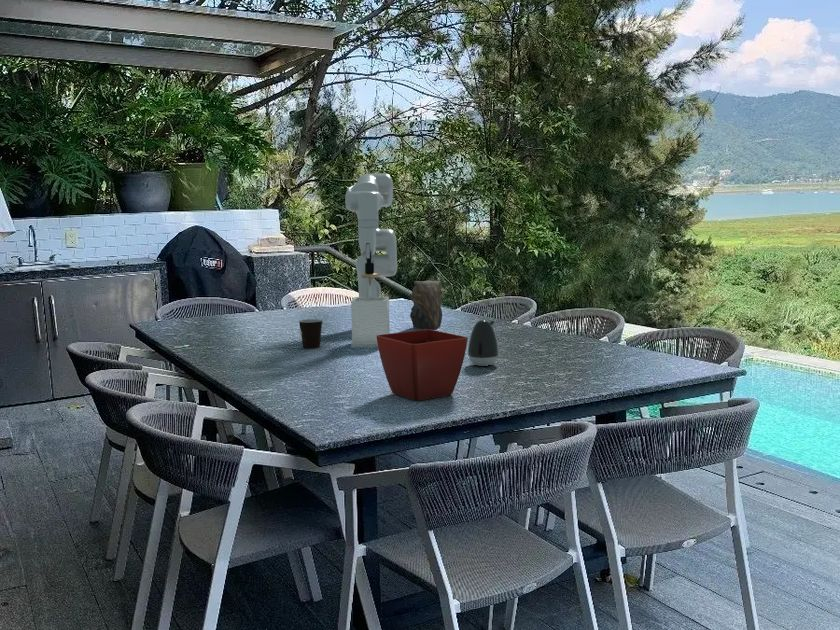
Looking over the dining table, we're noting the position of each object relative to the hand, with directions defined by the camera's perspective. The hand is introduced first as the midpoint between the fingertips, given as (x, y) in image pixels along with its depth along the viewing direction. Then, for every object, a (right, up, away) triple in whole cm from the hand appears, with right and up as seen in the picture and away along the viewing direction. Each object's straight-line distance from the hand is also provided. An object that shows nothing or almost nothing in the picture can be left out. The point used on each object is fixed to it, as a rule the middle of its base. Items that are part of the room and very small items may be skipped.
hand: (369, 273), depth 325 cm
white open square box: (0, -27, +4) cm, 27 cm away
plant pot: (+20, -38, -81) cm, 92 cm away
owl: (+23, -21, +45) cm, 54 cm away
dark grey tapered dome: (+40, -33, -40) cm, 65 cm away
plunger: (0, -17, +2) cm, 17 cm away
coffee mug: (-22, -28, +2) cm, 35 cm away
